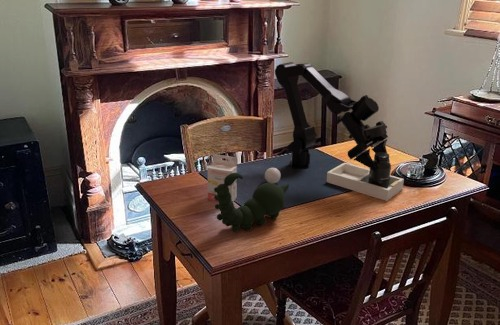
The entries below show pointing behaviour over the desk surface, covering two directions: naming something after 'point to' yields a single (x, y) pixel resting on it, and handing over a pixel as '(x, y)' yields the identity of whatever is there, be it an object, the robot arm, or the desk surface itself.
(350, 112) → the robot arm
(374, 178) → the supplement bottle
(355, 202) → the desk surface
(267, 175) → the white ball
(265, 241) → the desk surface
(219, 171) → the ink cartridge box
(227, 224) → the toy figurine
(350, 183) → the tray
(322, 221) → the desk surface
